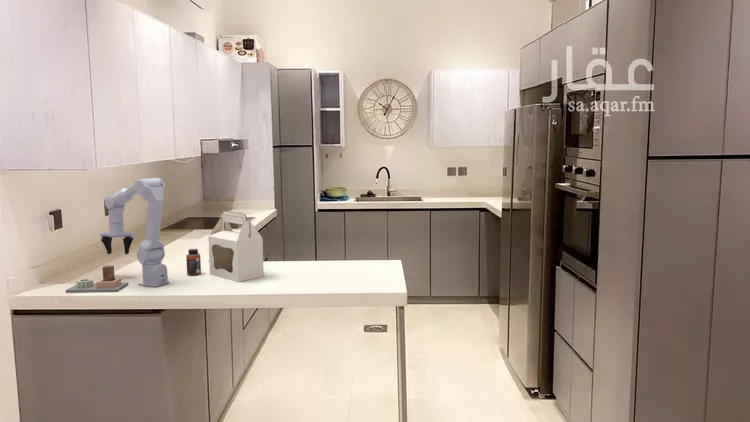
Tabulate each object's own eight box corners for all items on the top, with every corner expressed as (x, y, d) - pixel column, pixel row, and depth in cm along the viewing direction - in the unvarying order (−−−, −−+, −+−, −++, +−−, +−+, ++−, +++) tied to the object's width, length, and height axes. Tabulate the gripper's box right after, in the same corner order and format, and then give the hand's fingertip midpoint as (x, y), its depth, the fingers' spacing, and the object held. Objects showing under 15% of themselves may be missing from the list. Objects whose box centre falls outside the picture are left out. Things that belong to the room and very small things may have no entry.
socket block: (128, 284, 235) (127, 276, 235) (117, 291, 224) (117, 283, 224) (79, 285, 234) (78, 277, 234) (65, 292, 224) (65, 283, 223)
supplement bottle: (202, 274, 252) (201, 249, 251) (188, 276, 249) (187, 251, 248) (199, 272, 257) (198, 247, 256) (185, 273, 254) (184, 248, 253)
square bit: (115, 284, 231) (113, 265, 230) (111, 286, 228) (110, 267, 227) (107, 284, 231) (105, 265, 230) (103, 286, 228) (102, 267, 227)
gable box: (209, 274, 253) (206, 212, 250) (234, 269, 263) (232, 209, 260) (238, 282, 239) (236, 216, 235) (264, 276, 248) (262, 213, 245)
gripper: (95, 224, 242) (97, 255, 244) (128, 224, 241) (130, 255, 243) (103, 221, 249) (105, 252, 251) (136, 221, 248) (137, 252, 250)
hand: (118, 253), depth 247 cm, fingers open, 7 cm apart
